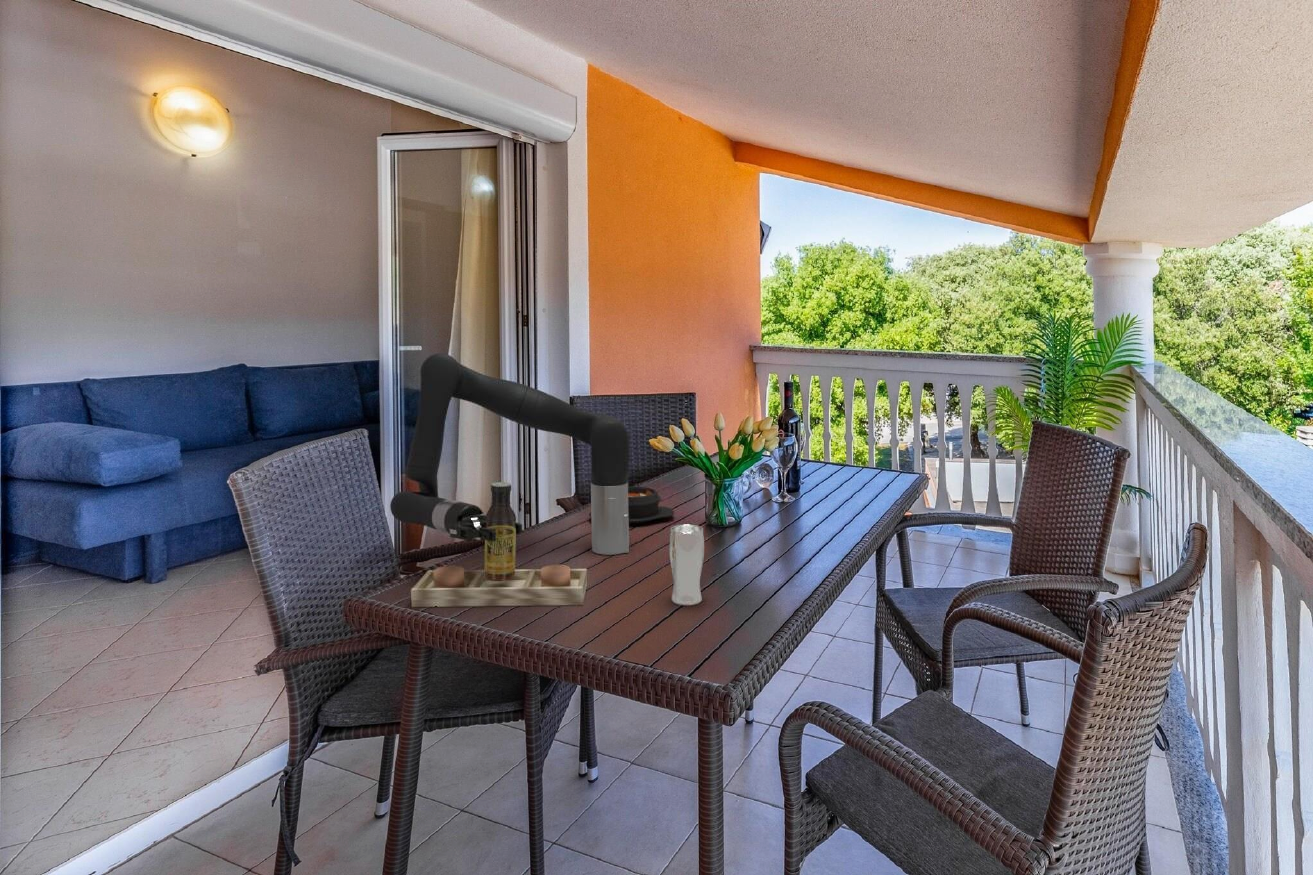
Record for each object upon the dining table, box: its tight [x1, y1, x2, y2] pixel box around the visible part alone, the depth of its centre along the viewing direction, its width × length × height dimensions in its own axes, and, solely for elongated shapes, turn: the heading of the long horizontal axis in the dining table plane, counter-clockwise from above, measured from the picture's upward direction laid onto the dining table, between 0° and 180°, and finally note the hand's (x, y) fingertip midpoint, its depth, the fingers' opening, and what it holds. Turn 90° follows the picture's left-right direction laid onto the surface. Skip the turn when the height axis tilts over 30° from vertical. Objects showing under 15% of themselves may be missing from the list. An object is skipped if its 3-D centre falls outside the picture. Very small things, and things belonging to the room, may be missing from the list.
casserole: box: [588, 486, 675, 525], centre depth 211 cm, size 25×19×8 cm
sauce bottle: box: [483, 481, 517, 581], centre depth 149 cm, size 7×6×20 cm
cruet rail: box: [410, 564, 588, 608], centre depth 151 cm, size 34×12×6 cm, turn 91°
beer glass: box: [669, 524, 705, 606], centre depth 147 cm, size 7×7×15 cm
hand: (507, 532), depth 147 cm, fingers closed on sauce bottle, 6 cm apart
